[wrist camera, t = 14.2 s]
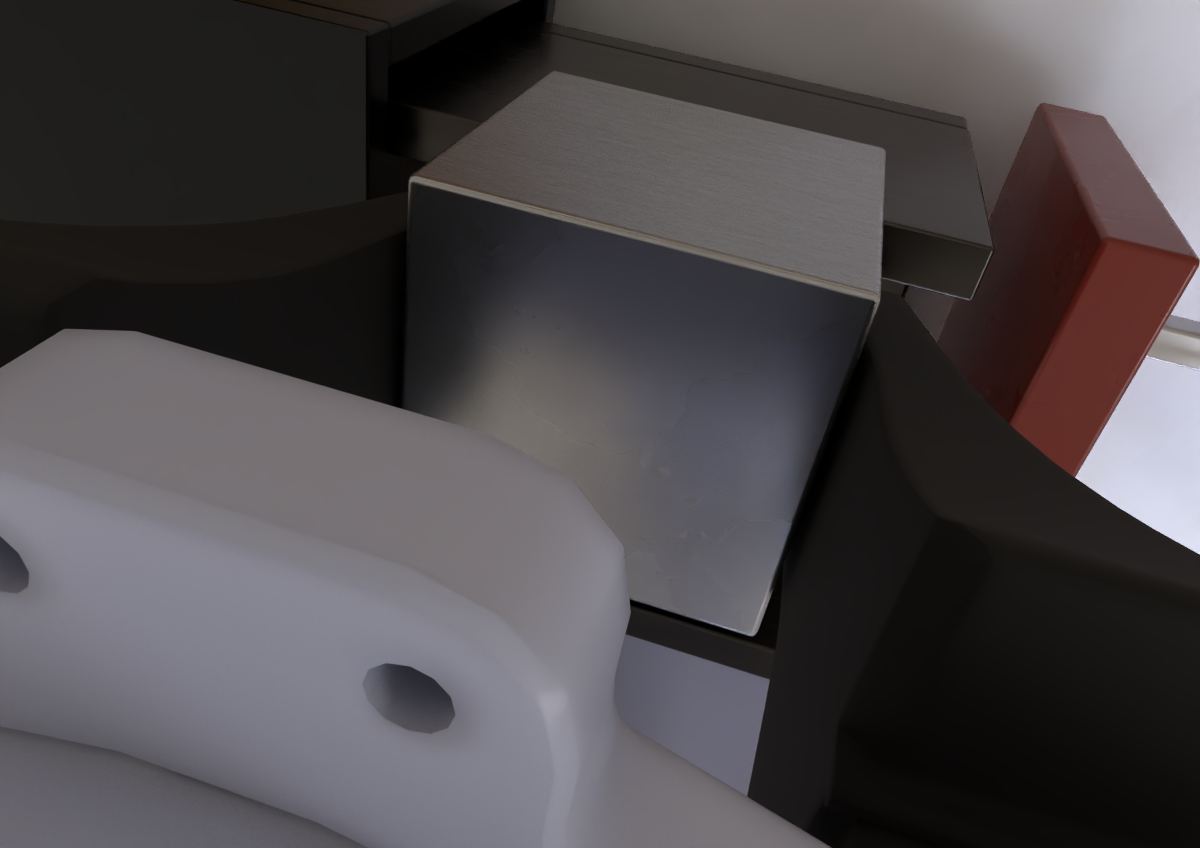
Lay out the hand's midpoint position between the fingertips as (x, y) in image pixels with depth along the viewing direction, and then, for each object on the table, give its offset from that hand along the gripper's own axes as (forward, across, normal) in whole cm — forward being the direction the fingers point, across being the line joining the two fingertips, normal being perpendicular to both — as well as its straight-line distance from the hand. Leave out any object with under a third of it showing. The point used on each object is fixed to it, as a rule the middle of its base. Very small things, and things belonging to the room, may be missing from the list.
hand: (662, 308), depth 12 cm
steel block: (+1, 0, 0) cm, 1 cm away
